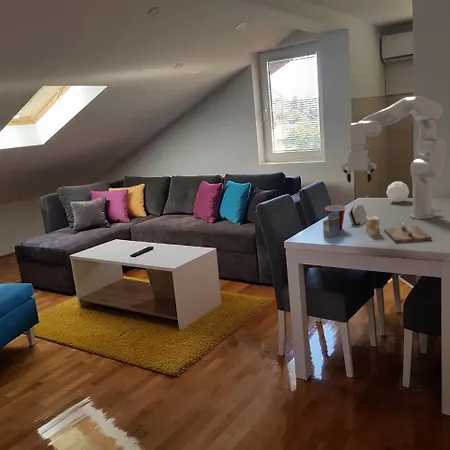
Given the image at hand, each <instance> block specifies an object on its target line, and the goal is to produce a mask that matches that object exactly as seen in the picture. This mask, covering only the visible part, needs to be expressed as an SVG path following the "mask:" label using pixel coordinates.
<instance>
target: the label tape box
mask: <svg viewBox="0 0 450 450" xmlns="http://www.w3.org/2000/svg"><path fill="white" fill-rule="evenodd" d="M333 214H335V216H332V215H333ZM328 217H329V219H328ZM322 231H323V238H327V239H328V238H329V239H330V238H333V237H334V236H337V235H339V234H340V230H339V211H336V212H333V213H330V214H328V215H327V219H325V220H323V221H322Z"/></svg>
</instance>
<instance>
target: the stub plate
mask: <svg viewBox="0 0 450 450" xmlns="http://www.w3.org/2000/svg"><path fill="white" fill-rule="evenodd" d="M384 233H385V234H386V235H387V236H388V237H389V238H390V239H391V240H392V242H394V243H395V244H399V243H400V244H401V243H403V244H404V243H415V242H427V241H428V242H429V241H432V236H430V235H429V234H428V233H427V232H425V231H424V230H423V229H421V228H420V227H419V226H418V225H416V226H415V225H414V226H406V222H401V226H400V227H389V228H384Z"/></svg>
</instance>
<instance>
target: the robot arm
mask: <svg viewBox="0 0 450 450" xmlns="http://www.w3.org/2000/svg"><path fill="white" fill-rule="evenodd" d="M443 113H444V109H443V106H442V105H441V104H440V103H439V102H437V101H435V100H432V99H430V98H428V97H425V96H422V95H414V96H405V97H404V98H401V99H400V100H399V101H396V102H395V103H393V104H392V105H390V106H388V107H386V108H384V109H382V110H379V111H378V112H375V113H372V114H370V115H368V116H366V117H364V118H363V119H362V120H359V122H353V123H350V124H349V140H350V141H349V142H350V143H349V145H350V146H349V147H350V150H349V151H348V159H347V162H346V163H345V164H343V165H342V166H341V169H342V170H343V173H345V175H346V181H347V183H351V182H352V174H351V172H363V171H365V172H367V183H370V182H371V181H372V174H373V172H374V171H375V170H376V168H377V164H376V163H374V162H371V161H370V155H369V150H368V148H370V145H369V144H367V138H366V137H376V136H379V135H380V134H381V132H382V130H383V127H385V126H390V125H392V124H396V123H397V122H399V121H400V120H403V118H406V117H407V116H408V115H410V114H411V115H412V117H413V119H414V120H415V121H416V123H417V125H418V138H417V143H416V153H417V154H418V155H419V156H423V157H429V158H423V157H421V158H416V159H414V160H413V161H412V162H411V164H410V169H409V170H410V174H411V178H412V179H411V180H412V213H410V214H409V217H410V218H412V219H418V220H422V219H423V220H425V219H426V220H427V219H432V218H435V216H436V213H441V212H442V209H441V208H434V207H433V203H432V202H433V201H432V200H433V197H432V196H433V193H432V191H433V188H432V187H433V186H432V185H433V184H432V180H431V178H438V177H440V176H441V175H442V174H443V172H444V167H445V162H446V158H447V151H448V145H447V142H446V141H445V140H444V139H443V138H440V137H437V129H438V128H437V125H436V122H435V120H438V119H440V118H441V117H442V116H443ZM371 166H372V168H371ZM346 167H347V168H346ZM370 168H371V169H370Z"/></svg>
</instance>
